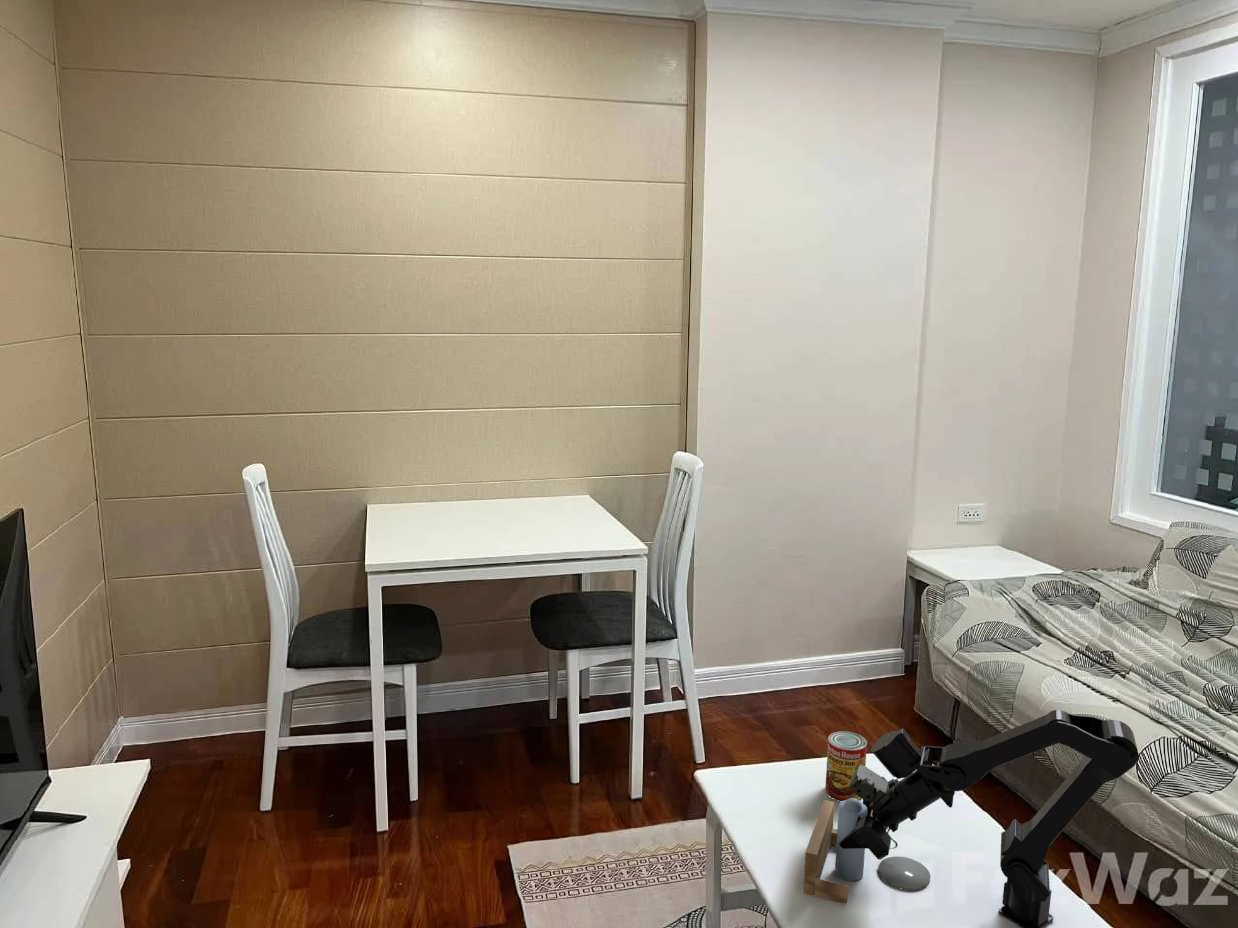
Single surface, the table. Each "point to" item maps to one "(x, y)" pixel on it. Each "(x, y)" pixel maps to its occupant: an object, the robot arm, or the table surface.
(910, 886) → the coaster
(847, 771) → the canned food
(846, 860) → the pepper mill
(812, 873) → the walnut bench
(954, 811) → the table surface
